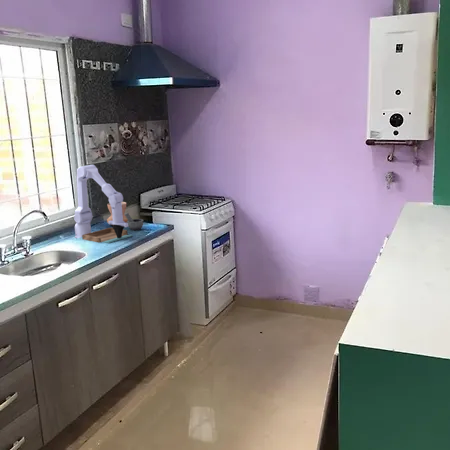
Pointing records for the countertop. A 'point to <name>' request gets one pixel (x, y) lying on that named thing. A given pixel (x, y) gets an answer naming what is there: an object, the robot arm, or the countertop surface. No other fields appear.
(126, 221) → the ceramic jug
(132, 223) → the mortar and pestle
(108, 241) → the panel
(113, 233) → the tray
